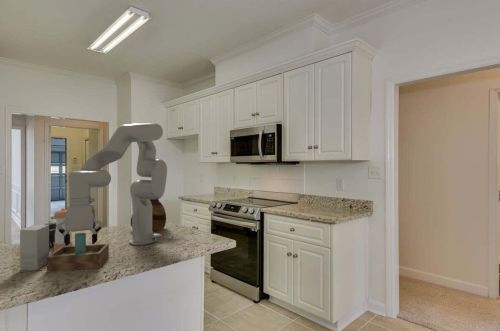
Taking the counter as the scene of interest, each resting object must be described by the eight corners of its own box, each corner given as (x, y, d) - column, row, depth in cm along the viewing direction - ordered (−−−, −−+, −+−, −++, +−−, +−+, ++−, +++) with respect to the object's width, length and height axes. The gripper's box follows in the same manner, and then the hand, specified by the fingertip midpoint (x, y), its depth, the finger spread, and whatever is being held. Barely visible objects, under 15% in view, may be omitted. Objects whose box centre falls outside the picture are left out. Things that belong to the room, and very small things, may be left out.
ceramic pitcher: (165, 233, 168) (165, 180, 167) (127, 235, 163) (127, 181, 163) (167, 226, 187) (167, 178, 186) (133, 227, 183) (133, 179, 182)
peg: (87, 261, 120) (87, 232, 120) (84, 264, 117) (84, 234, 117) (76, 262, 120) (76, 232, 119) (73, 265, 116) (73, 235, 116)
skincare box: (33, 263, 118) (33, 224, 118) (50, 262, 119) (50, 224, 119) (18, 270, 110) (18, 229, 110) (37, 270, 111) (37, 229, 110)
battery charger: (44, 249, 137) (44, 224, 137) (42, 247, 139) (42, 223, 139) (61, 245, 142) (61, 222, 142) (59, 244, 145) (58, 221, 145)
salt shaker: (52, 252, 132) (52, 210, 131) (55, 248, 138) (54, 207, 138) (71, 250, 135) (71, 209, 135) (73, 246, 142) (72, 206, 141)
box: (108, 256, 127) (108, 243, 127) (99, 268, 113) (99, 253, 113) (62, 259, 123) (62, 246, 123) (46, 271, 109) (46, 256, 109)
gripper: (105, 199, 123) (106, 240, 124) (59, 201, 120) (61, 242, 120) (100, 202, 116) (101, 245, 117) (51, 204, 112) (52, 248, 113)
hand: (81, 244), depth 118 cm, fingers open, 9 cm apart
